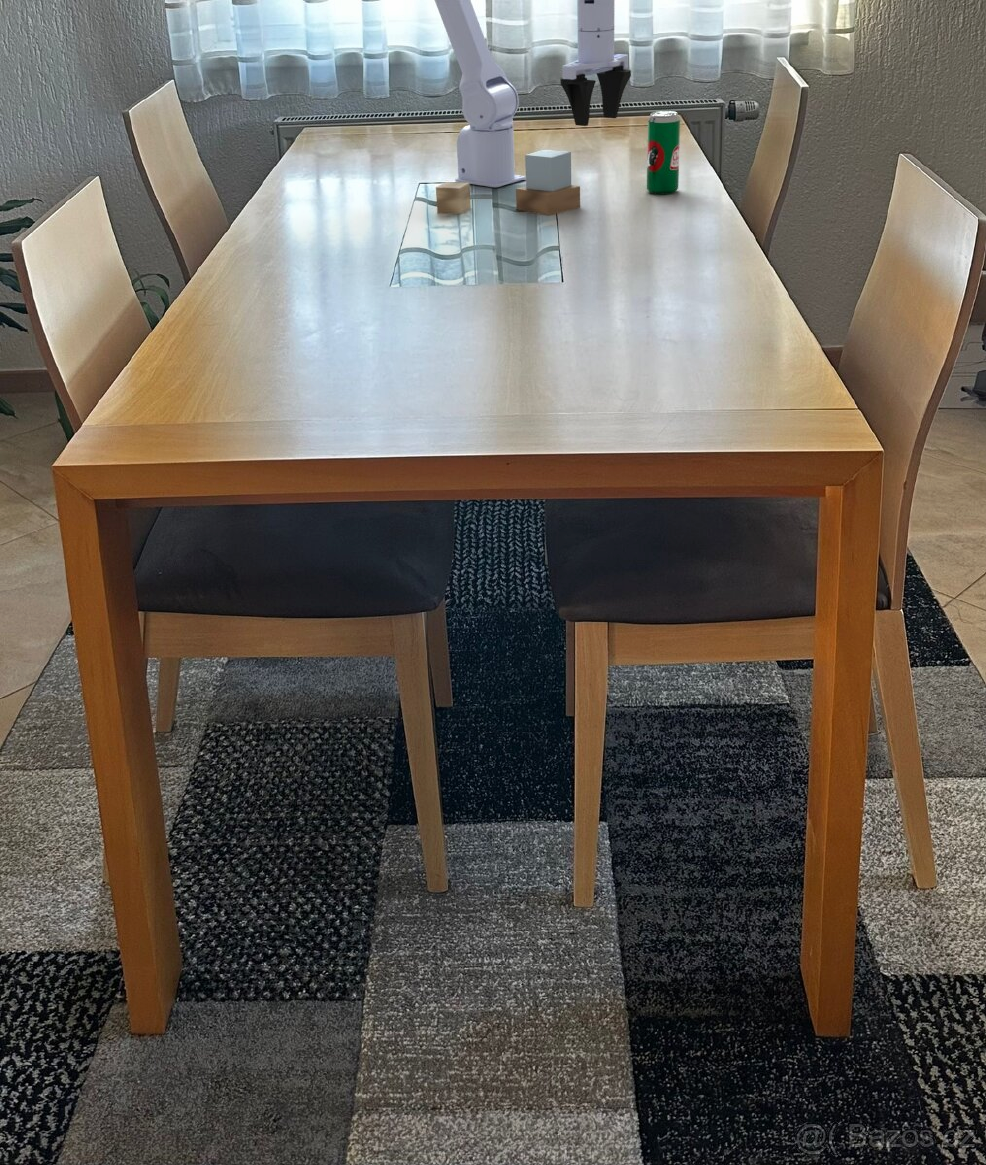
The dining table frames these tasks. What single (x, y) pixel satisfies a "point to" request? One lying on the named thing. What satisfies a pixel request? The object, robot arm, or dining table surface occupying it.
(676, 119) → the soda can
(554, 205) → the walnut base
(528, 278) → the dining table surface
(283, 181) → the dining table surface
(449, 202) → the oak block
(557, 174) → the light grey cube
